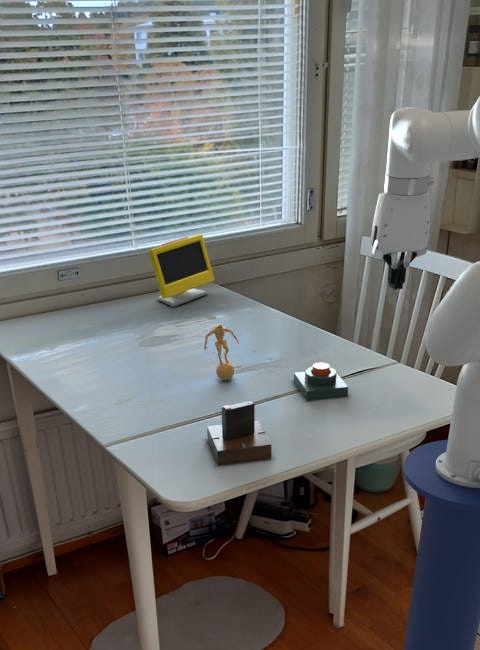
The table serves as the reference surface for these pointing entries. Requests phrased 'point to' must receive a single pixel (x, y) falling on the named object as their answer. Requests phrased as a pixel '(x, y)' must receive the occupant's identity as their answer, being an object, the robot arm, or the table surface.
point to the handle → (238, 420)
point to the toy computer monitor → (181, 269)
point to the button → (321, 369)
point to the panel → (239, 446)
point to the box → (320, 385)
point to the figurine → (224, 368)
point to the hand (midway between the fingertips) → (395, 287)
